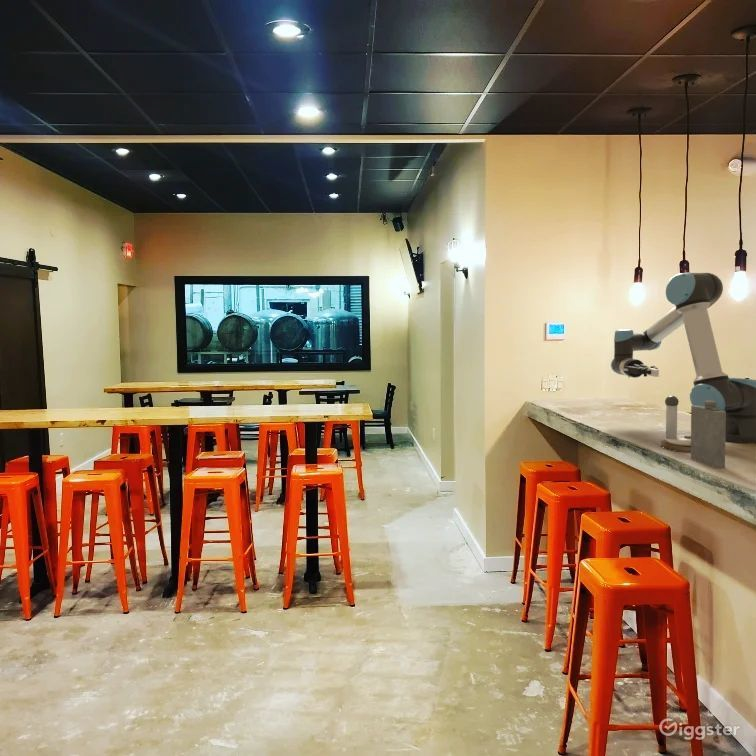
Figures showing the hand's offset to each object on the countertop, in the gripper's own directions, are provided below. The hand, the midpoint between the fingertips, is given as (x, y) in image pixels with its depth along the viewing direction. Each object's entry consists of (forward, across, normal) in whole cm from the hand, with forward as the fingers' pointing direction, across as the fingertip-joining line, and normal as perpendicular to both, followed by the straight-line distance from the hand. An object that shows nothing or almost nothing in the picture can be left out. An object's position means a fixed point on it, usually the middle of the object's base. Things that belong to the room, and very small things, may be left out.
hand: (656, 373), depth 236 cm
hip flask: (+39, -1, -26) cm, 46 cm away
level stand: (+15, -6, -25) cm, 30 cm away
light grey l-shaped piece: (+15, -5, -23) cm, 28 cm away
